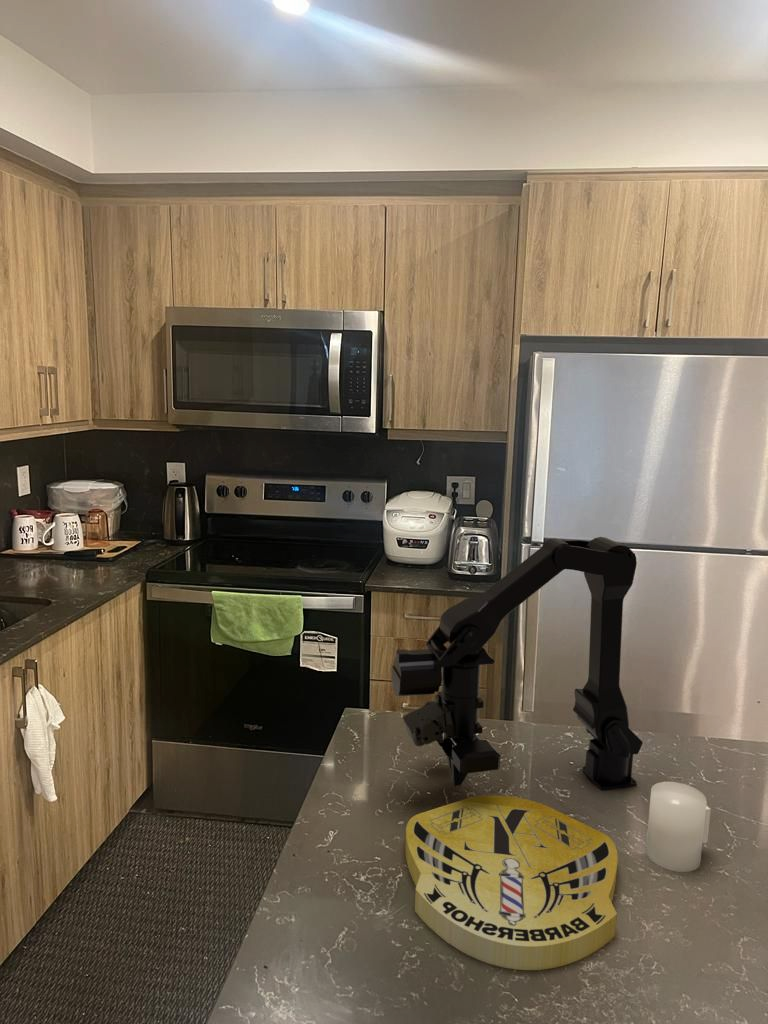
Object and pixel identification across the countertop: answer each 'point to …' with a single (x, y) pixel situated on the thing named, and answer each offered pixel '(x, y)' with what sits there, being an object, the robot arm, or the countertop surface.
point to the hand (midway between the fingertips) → (456, 784)
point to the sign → (513, 881)
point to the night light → (677, 826)
